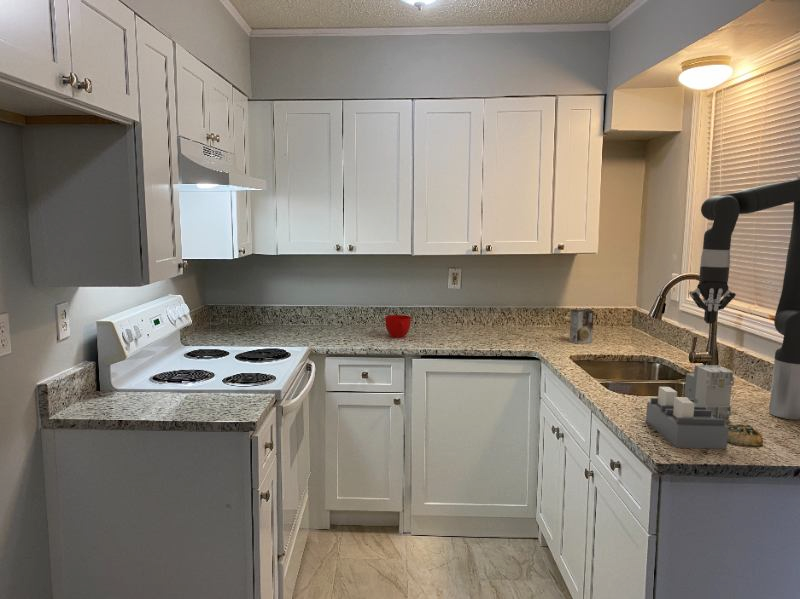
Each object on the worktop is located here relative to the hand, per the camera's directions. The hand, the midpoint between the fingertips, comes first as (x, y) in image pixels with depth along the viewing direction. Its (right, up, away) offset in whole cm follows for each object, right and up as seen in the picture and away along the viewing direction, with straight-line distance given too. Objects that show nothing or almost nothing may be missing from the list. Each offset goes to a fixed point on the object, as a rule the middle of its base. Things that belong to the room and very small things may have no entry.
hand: (709, 323), depth 169 cm
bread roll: (+1, -32, -14) cm, 34 cm away
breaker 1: (-16, -24, -6) cm, 29 cm away
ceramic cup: (-93, -12, +116) cm, 149 cm away
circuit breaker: (+3, -28, +8) cm, 30 cm away
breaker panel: (-13, -30, -11) cm, 35 cm away
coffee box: (-3, -14, +112) cm, 113 cm away
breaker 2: (-16, -25, -16) cm, 34 cm away
